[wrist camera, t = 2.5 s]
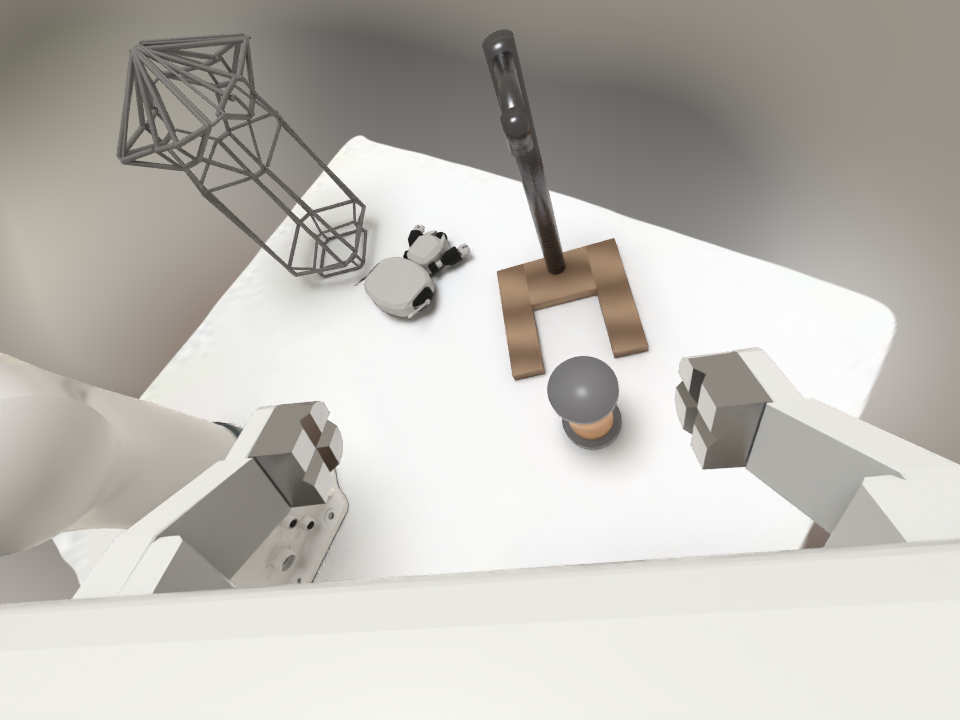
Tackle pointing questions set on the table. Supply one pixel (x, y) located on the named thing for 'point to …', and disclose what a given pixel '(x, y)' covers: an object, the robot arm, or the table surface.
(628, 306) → the notched board
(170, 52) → the geometric lantern
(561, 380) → the cord spool
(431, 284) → the robot toy
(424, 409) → the table surface
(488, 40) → the hook stand
